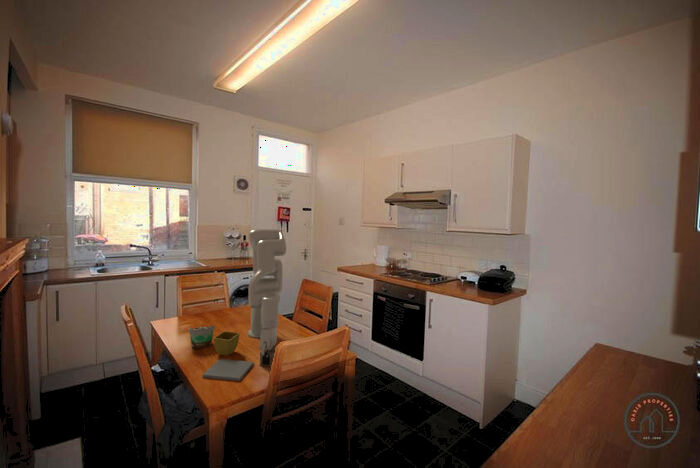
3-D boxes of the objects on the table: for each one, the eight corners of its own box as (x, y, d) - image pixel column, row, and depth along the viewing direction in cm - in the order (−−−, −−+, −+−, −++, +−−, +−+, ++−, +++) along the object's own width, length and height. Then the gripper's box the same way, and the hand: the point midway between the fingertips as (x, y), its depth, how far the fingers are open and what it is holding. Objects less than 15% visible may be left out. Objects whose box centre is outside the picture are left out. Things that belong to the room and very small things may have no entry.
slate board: (220, 361, 145) (220, 358, 145) (253, 364, 143) (253, 361, 143) (202, 377, 131) (202, 374, 131) (239, 381, 129) (239, 378, 129)
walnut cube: (264, 359, 149) (265, 346, 148) (277, 360, 148) (277, 348, 148) (259, 365, 143) (260, 352, 142) (272, 366, 142) (273, 353, 142)
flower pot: (229, 358, 148) (229, 340, 147) (212, 356, 149) (213, 337, 149) (239, 350, 156) (239, 333, 155) (223, 348, 158) (224, 330, 157)
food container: (188, 351, 153) (188, 331, 152) (188, 346, 158) (188, 327, 157) (215, 347, 158) (216, 328, 158) (214, 342, 164) (215, 324, 163)
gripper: (268, 316, 153) (267, 351, 154) (253, 329, 136) (253, 369, 137) (283, 317, 152) (282, 352, 153) (270, 330, 135) (269, 370, 136)
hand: (268, 360), depth 145 cm, fingers open, 6 cm apart
